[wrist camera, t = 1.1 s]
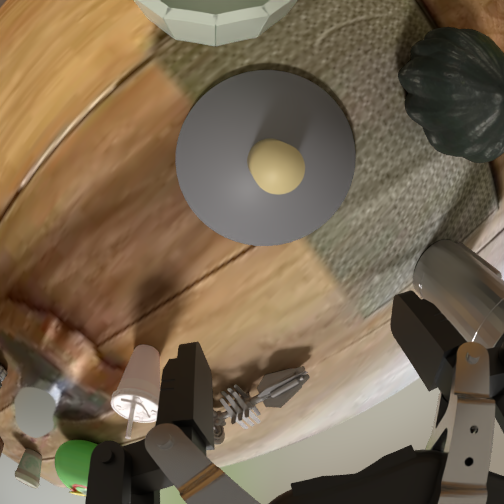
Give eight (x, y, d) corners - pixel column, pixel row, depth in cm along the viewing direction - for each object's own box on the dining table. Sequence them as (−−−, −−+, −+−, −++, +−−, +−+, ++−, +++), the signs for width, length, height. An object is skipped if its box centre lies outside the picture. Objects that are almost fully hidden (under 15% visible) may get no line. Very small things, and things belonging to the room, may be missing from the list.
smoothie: (146, 330, 36) (127, 420, 24) (178, 358, 39) (172, 445, 26) (115, 348, 37) (92, 431, 24) (147, 374, 40) (135, 455, 27)
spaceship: (110, 449, 37) (140, 479, 38) (296, 363, 36) (325, 403, 36) (125, 425, 45) (152, 453, 46) (289, 341, 44) (314, 378, 44)
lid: (331, 59, 25) (354, 50, 20) (360, 217, 33) (383, 236, 28) (154, 100, 25) (141, 98, 20) (208, 260, 33) (207, 287, 28)
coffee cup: (50, 459, 56) (43, 490, 45) (38, 459, 57) (31, 488, 46) (28, 445, 52) (19, 476, 41) (18, 446, 53) (9, 475, 42)
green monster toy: (58, 419, 45) (42, 474, 32) (132, 443, 50) (125, 501, 36) (64, 448, 51) (54, 493, 38) (125, 467, 56) (121, 514, 43)
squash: (519, 107, 22) (557, 55, 9) (476, 196, 27) (515, 179, 15) (431, 49, 27) (427, -22, 14) (385, 130, 33) (366, 78, 20)
